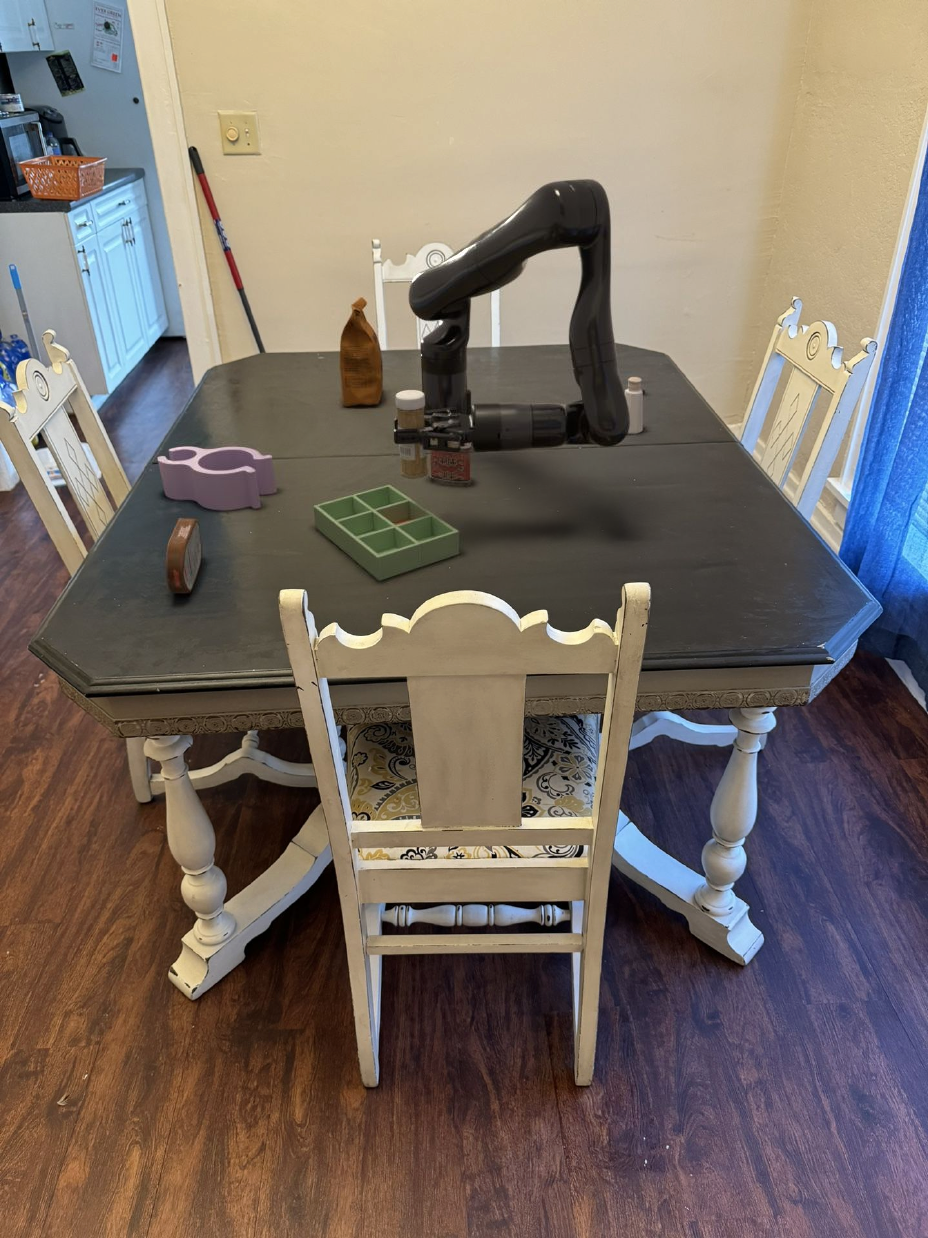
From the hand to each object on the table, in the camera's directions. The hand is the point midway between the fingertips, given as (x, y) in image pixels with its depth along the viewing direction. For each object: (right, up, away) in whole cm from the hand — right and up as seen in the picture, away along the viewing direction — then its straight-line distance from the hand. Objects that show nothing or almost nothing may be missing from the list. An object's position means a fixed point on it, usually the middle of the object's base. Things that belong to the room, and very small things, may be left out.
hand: (394, 430), depth 138 cm
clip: (-34, -7, +22) cm, 41 cm away
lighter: (+8, -4, +26) cm, 28 cm away
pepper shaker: (+46, +11, +48) cm, 67 cm away
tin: (-31, -24, -4) cm, 40 cm away
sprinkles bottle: (+3, -6, +4) cm, 8 cm away
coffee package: (-12, +21, +65) cm, 70 cm away
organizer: (-2, -17, +6) cm, 18 cm away
